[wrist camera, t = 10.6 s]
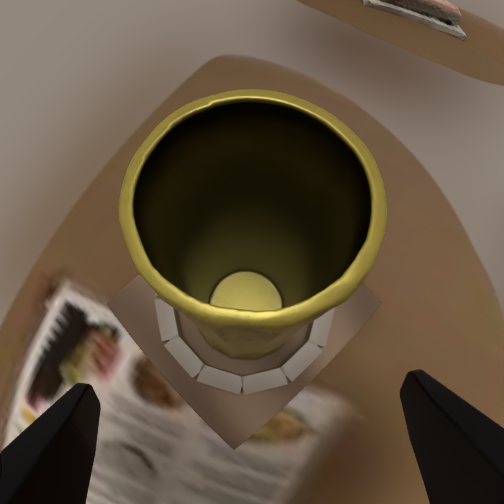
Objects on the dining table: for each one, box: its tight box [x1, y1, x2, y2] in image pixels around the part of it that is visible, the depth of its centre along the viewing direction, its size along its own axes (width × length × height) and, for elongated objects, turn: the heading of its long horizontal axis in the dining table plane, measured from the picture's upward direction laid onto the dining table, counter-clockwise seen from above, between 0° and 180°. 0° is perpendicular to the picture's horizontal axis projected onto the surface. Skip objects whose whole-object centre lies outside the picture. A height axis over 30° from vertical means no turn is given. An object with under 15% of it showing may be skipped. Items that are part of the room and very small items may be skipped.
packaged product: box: [362, 0, 467, 40], centre depth 34 cm, size 18×5×10 cm
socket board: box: [106, 274, 382, 450], centre depth 19 cm, size 13×12×2 cm
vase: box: [119, 89, 387, 360], centre depth 13 cm, size 6×6×14 cm
